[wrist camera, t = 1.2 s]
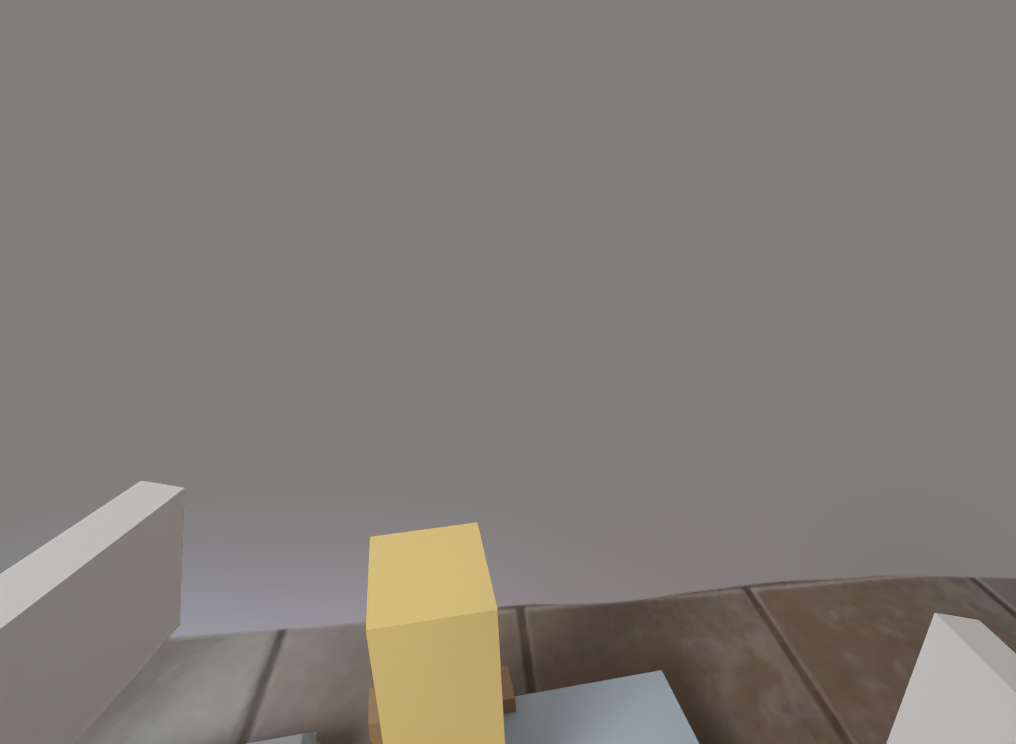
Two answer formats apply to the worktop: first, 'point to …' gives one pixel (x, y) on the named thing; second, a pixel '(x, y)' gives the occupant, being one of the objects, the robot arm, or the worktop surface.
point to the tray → (294, 739)
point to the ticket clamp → (586, 713)
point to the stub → (434, 638)
